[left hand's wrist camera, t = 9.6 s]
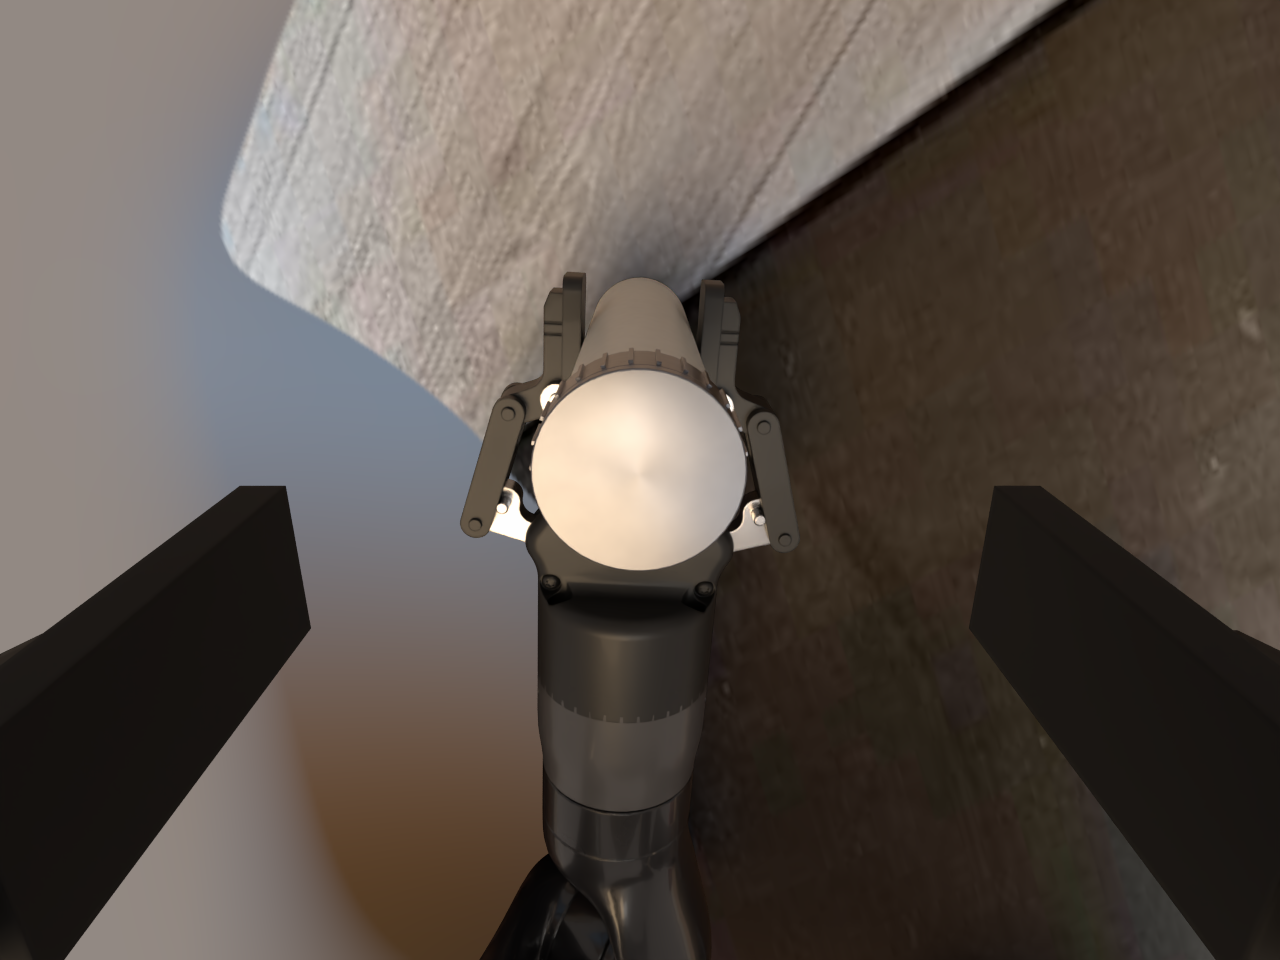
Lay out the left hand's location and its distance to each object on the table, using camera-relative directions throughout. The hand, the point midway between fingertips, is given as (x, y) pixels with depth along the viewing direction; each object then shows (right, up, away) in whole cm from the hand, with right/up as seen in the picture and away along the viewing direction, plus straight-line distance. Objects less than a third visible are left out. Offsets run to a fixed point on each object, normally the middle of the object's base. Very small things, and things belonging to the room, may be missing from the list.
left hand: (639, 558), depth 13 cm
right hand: (0, +9, +15) cm, 17 cm away
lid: (0, +2, +4) cm, 4 cm away
